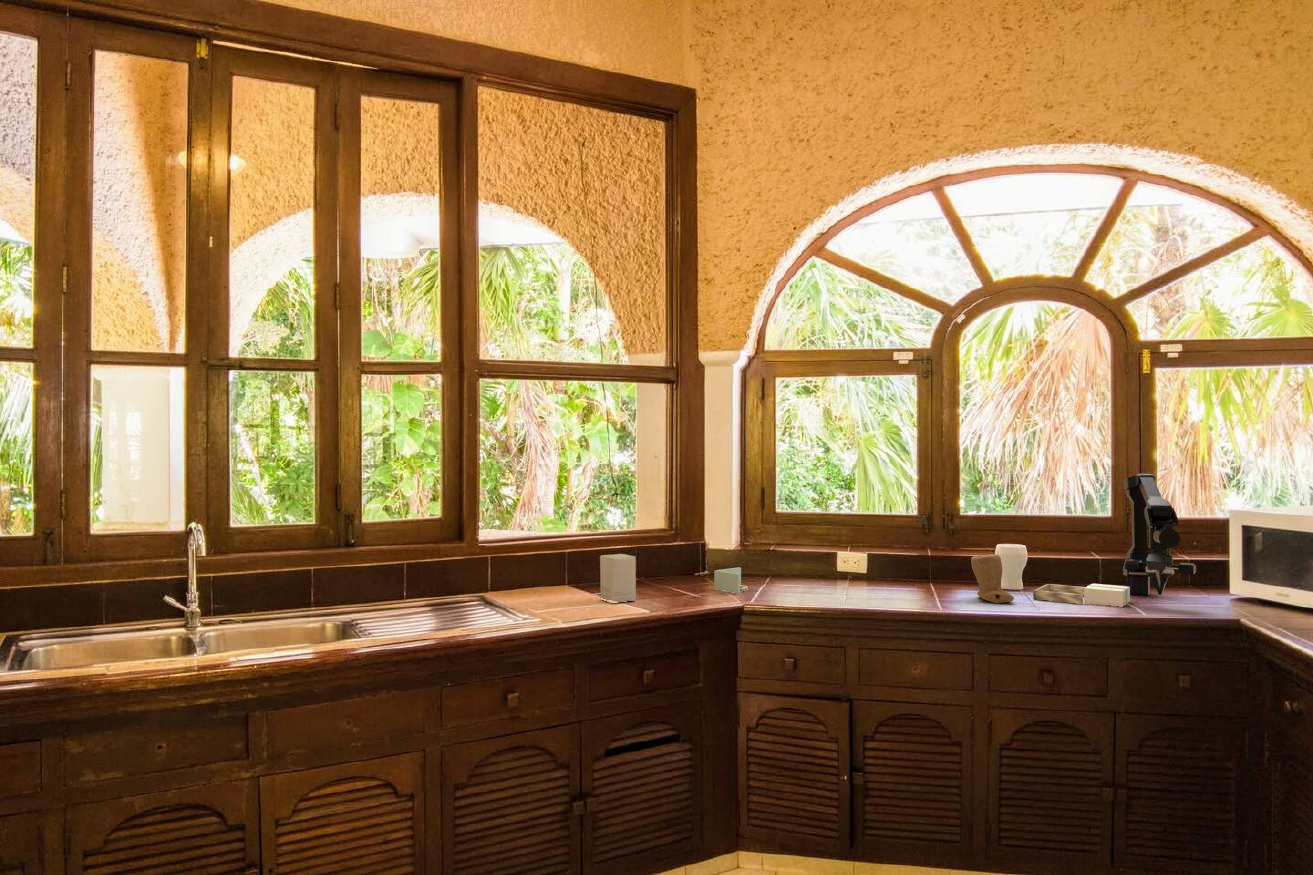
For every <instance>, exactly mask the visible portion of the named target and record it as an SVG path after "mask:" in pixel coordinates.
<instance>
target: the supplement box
mask: <svg viewBox="0 0 1313 875" xmlns="http://www.w3.org/2000/svg"><path fill="white" fill-rule="evenodd" d="M599 560H600V561H599V563H600V564H599V568H600V576H599V577H600V579H599V580H600V583H599V584H600V599H601V598H603V599H606V600H612V601H617V600H618V601H619V600H635V599H637V590H636V588H637V586H636V585H637V579H636V578H637V576H636V572H637V570H636V569H637V568H636V567H637V566H636V565H637V564H636V555H635V556H634V555H629V554H626V553H625V554H624V553H617V554H603V555H600V556H599Z"/></svg>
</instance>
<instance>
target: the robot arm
mask: <svg viewBox="0 0 1313 875" xmlns="http://www.w3.org/2000/svg"><path fill="white" fill-rule="evenodd" d="M1155 476H1156V475H1155V474H1153V473H1138V474H1135V475H1132V476H1130V475H1128V476H1127V477H1126V478H1125V479H1124V480H1123V489H1124V491H1125V495H1126V498H1128V499H1129V501H1130V502H1131V504H1130V505H1131V546H1130V548H1129V550H1128V551H1127V552H1126V558H1125V559H1124V564H1123V567H1122V574H1123V576H1125V577H1127V578H1126V579H1125V586H1127V587H1130V595H1132V596H1133V595H1134V596H1144V597H1149V595H1151V594H1152V592H1151V585H1150V584H1151V580H1152V582H1153V584H1154V587H1155V589H1156V592H1157V594H1158V596H1159V595H1160V596H1161V595H1163V592H1164V590H1165V587H1166V584H1167V582H1168V581H1169V578H1170V576H1174V575H1175V574H1176V573H1175V572H1178V573H1180V574H1181V575H1192V576H1193V575H1195V574H1196V573H1197V566H1196V564H1195V563H1191V562H1190V563H1189V562H1180V563H1179V564H1174V557H1173V555H1172V554H1171V548H1175V547H1177V546H1178V545H1179V543H1180V541H1181V536H1180V534H1179V533H1178V531H1176V530H1174V529H1173V527H1174V528H1177V527H1178V526H1179V525H1178V524H1179V518H1178V515H1177V513H1176V510H1175V508H1174V507H1173V505H1172V504H1171V503H1170V501H1169V500H1167V499H1164V498H1163V497H1162V495H1161V492H1160V489H1159V488H1158V485H1157V483H1156V479H1155V478H1156V477H1155ZM1148 540H1149V542H1148ZM1160 572H1161V573H1160ZM1150 579H1151V580H1150Z"/></svg>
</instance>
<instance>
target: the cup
mask: <svg viewBox="0 0 1313 875" xmlns="http://www.w3.org/2000/svg"><path fill="white" fill-rule="evenodd" d="M994 551H995V552H994V554H995V555H996V554H998V555H999V556H1000V557H1001V562H1002V569H1003V571H1002V578H1001V588H1002V590H1016V591H1017V590H1023V589H1024V584H1023V579H1022V578H1023V571H1024V569H1025V567H1026V566H1027V562H1028V550H1027V546H1026V545H1023V544H1017V543H1016V544H1015V543H999V544H997V545H996V546H995V550H994Z"/></svg>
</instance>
